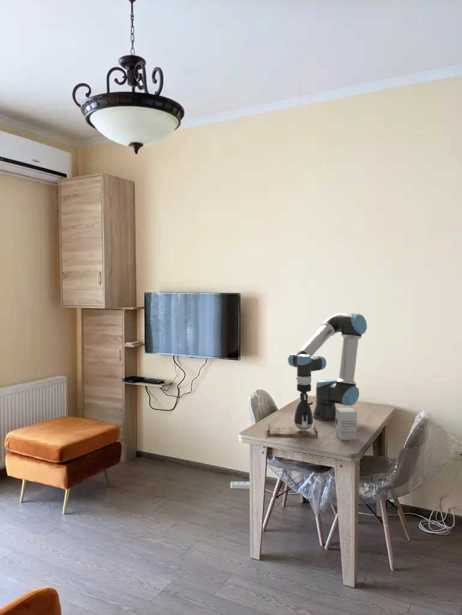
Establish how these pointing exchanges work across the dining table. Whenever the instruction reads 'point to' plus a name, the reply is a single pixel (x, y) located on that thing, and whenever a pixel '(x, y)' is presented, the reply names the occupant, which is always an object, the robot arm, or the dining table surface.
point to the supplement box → (346, 423)
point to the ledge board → (292, 432)
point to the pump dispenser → (299, 417)
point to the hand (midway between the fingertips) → (303, 424)
